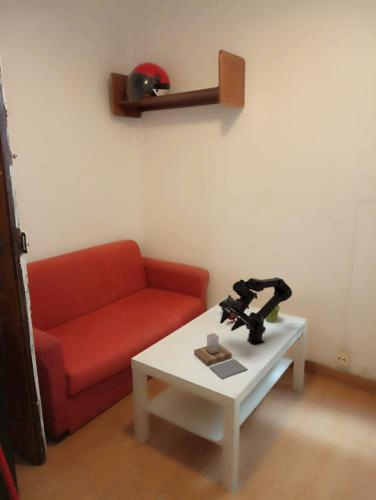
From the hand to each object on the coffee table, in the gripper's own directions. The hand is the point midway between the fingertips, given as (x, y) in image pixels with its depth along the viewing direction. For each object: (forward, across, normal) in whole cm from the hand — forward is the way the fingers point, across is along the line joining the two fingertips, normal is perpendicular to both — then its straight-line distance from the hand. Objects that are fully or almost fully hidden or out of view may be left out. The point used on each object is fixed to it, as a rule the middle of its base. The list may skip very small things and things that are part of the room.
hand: (225, 326), depth 178 cm
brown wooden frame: (+15, 0, +4) cm, 16 cm away
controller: (-10, -39, +29) cm, 50 cm away
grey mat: (+15, +13, +4) cm, 20 cm away
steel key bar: (+15, 0, +4) cm, 16 cm away
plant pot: (-21, -16, +40) cm, 48 cm away
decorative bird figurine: (-8, -26, +27) cm, 38 cm away
